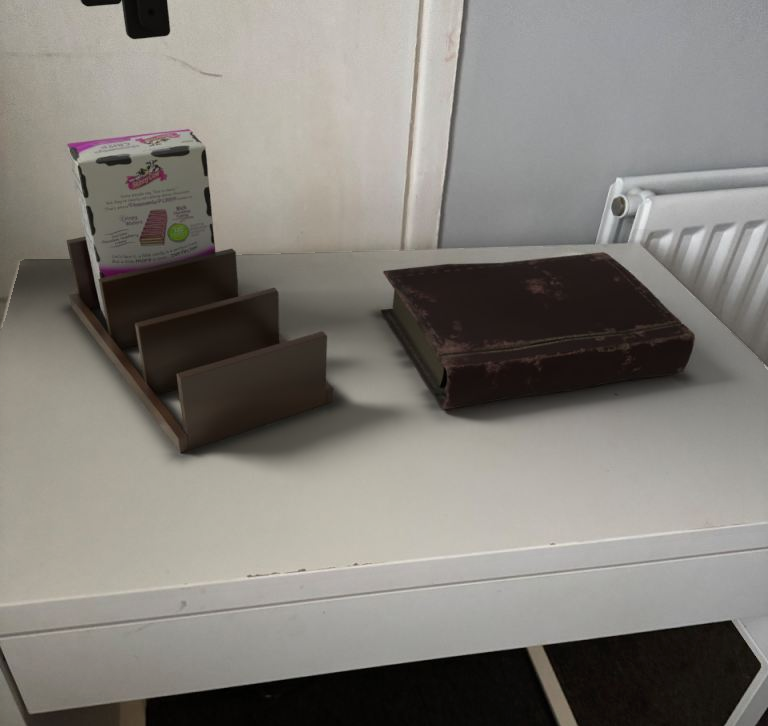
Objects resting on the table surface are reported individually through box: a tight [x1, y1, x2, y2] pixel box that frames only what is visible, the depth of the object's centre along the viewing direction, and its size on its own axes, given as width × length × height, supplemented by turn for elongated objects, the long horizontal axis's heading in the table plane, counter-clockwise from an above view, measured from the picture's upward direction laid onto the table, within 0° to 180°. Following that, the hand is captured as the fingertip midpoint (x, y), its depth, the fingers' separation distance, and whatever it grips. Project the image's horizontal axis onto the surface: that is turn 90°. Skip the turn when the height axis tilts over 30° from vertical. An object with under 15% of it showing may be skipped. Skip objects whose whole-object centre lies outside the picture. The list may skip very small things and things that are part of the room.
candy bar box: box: [66, 128, 216, 320], centre depth 77 cm, size 11×5×16 cm, turn 117°
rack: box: [66, 236, 335, 453], centre depth 76 cm, size 26×15×7 cm, turn 34°
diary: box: [379, 251, 696, 411], centre depth 81 cm, size 19×25×5 cm
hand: (124, 19), depth 64 cm, fingers open, 9 cm apart
